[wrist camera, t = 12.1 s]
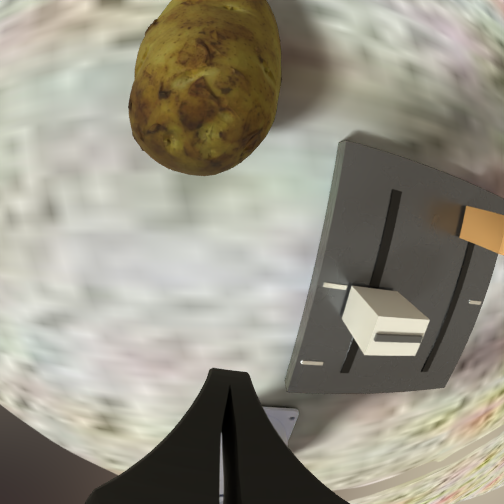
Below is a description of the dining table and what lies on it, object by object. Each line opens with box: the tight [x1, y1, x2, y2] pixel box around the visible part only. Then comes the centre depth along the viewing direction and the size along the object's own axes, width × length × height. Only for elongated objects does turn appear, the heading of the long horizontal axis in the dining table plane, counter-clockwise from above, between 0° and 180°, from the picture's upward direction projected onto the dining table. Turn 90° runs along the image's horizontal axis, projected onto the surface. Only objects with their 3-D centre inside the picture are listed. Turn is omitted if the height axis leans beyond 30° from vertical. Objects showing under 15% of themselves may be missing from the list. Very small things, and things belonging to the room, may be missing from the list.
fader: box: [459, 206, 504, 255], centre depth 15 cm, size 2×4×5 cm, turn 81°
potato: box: [128, 0, 282, 176], centre depth 13 cm, size 8×13×8 cm, turn 156°
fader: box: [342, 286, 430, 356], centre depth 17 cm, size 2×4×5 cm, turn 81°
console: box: [285, 141, 504, 394], centre depth 20 cm, size 18×16×2 cm
